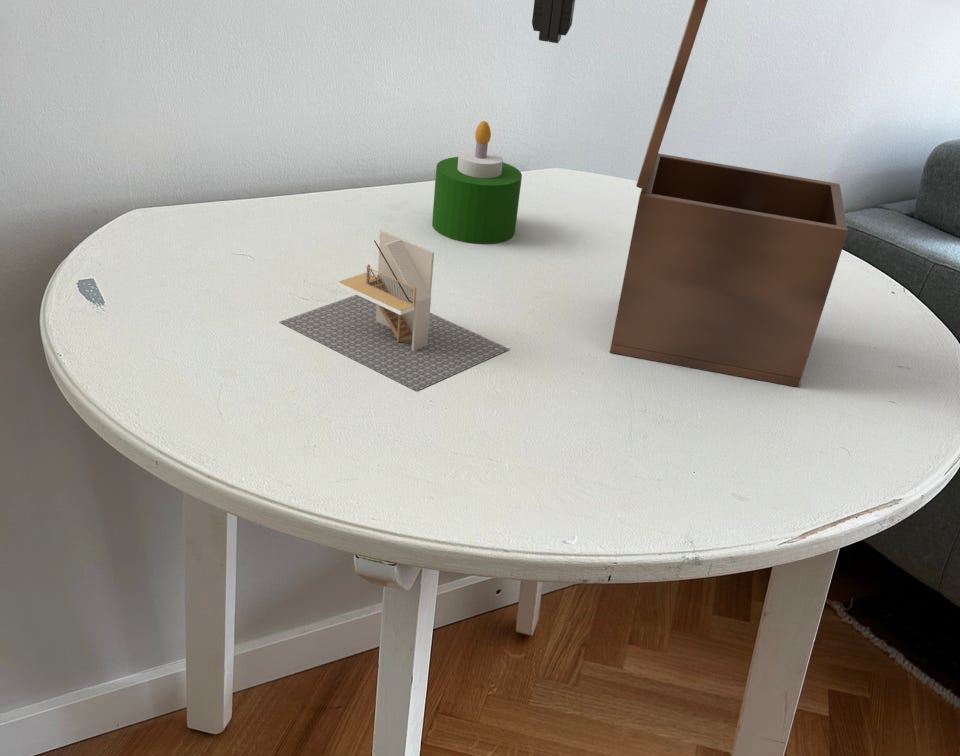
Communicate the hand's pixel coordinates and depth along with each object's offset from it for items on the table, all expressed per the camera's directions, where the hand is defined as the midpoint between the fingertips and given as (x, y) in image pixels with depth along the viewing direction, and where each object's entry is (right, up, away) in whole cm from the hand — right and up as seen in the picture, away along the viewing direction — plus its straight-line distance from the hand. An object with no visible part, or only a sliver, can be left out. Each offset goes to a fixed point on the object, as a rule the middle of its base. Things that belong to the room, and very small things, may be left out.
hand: (549, 39), depth 84 cm
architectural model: (-12, -21, +7) cm, 25 cm away
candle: (-6, -4, +27) cm, 28 cm away
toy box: (+14, -19, +12) cm, 27 cm away
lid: (+10, -2, -1) cm, 10 cm away
